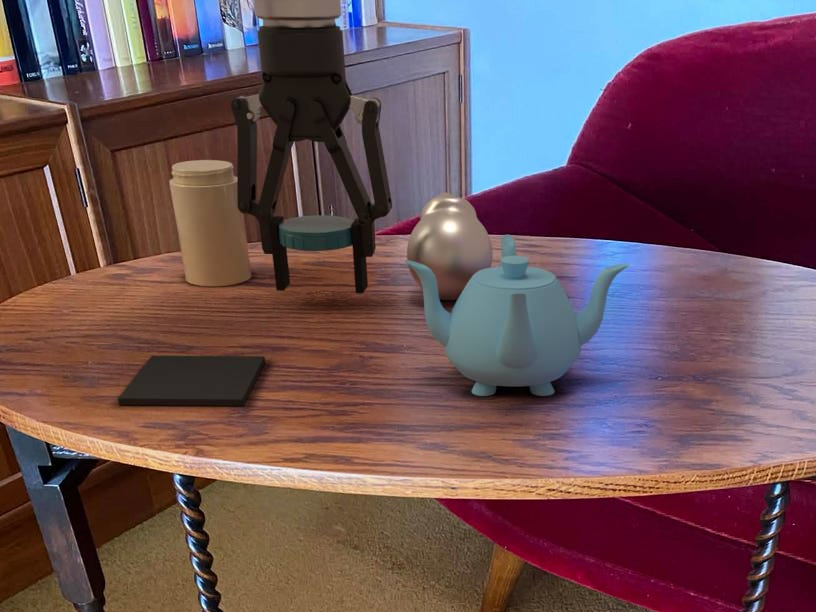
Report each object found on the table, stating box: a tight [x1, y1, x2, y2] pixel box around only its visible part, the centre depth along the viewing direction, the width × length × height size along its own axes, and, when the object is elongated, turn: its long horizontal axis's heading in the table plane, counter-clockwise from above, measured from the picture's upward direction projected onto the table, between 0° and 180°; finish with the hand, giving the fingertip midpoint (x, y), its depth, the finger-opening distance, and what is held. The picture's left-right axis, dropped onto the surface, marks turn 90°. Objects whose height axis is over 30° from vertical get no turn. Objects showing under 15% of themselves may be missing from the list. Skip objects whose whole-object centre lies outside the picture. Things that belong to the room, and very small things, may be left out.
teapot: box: [404, 234, 629, 397], centre depth 80 cm, size 13×13×10 cm
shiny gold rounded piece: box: [406, 191, 494, 301], centre depth 99 cm, size 9×10×10 cm
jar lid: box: [278, 214, 354, 252], centre depth 95 cm, size 8×8×2 cm
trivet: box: [117, 355, 266, 407], centre depth 81 cm, size 10×10×1 cm
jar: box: [168, 159, 252, 287], centre depth 104 cm, size 7×7×11 cm
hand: (322, 287), depth 98 cm, fingers closed on jar lid, 7 cm apart
